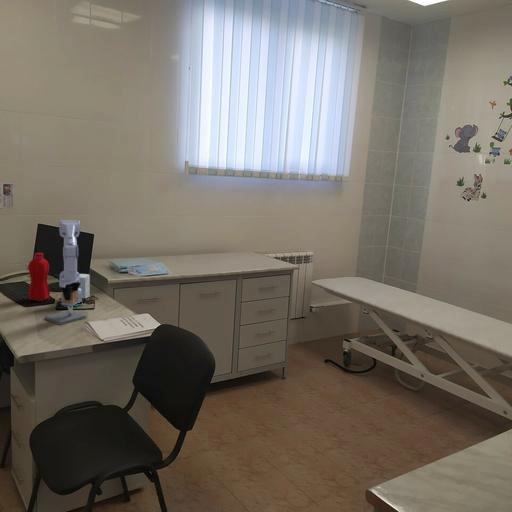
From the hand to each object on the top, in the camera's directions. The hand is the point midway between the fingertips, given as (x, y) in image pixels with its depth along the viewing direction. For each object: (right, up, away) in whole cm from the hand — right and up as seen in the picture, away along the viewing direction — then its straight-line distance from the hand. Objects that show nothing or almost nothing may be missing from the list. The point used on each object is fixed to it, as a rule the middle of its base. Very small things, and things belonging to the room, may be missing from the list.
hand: (70, 298), depth 235 cm
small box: (-7, -3, +34) cm, 35 cm away
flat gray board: (-3, -9, +1) cm, 10 cm away
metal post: (-1, -9, +2) cm, 10 cm away
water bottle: (-28, -3, +27) cm, 39 cm away
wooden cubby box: (0, -2, 0) cm, 2 cm away
